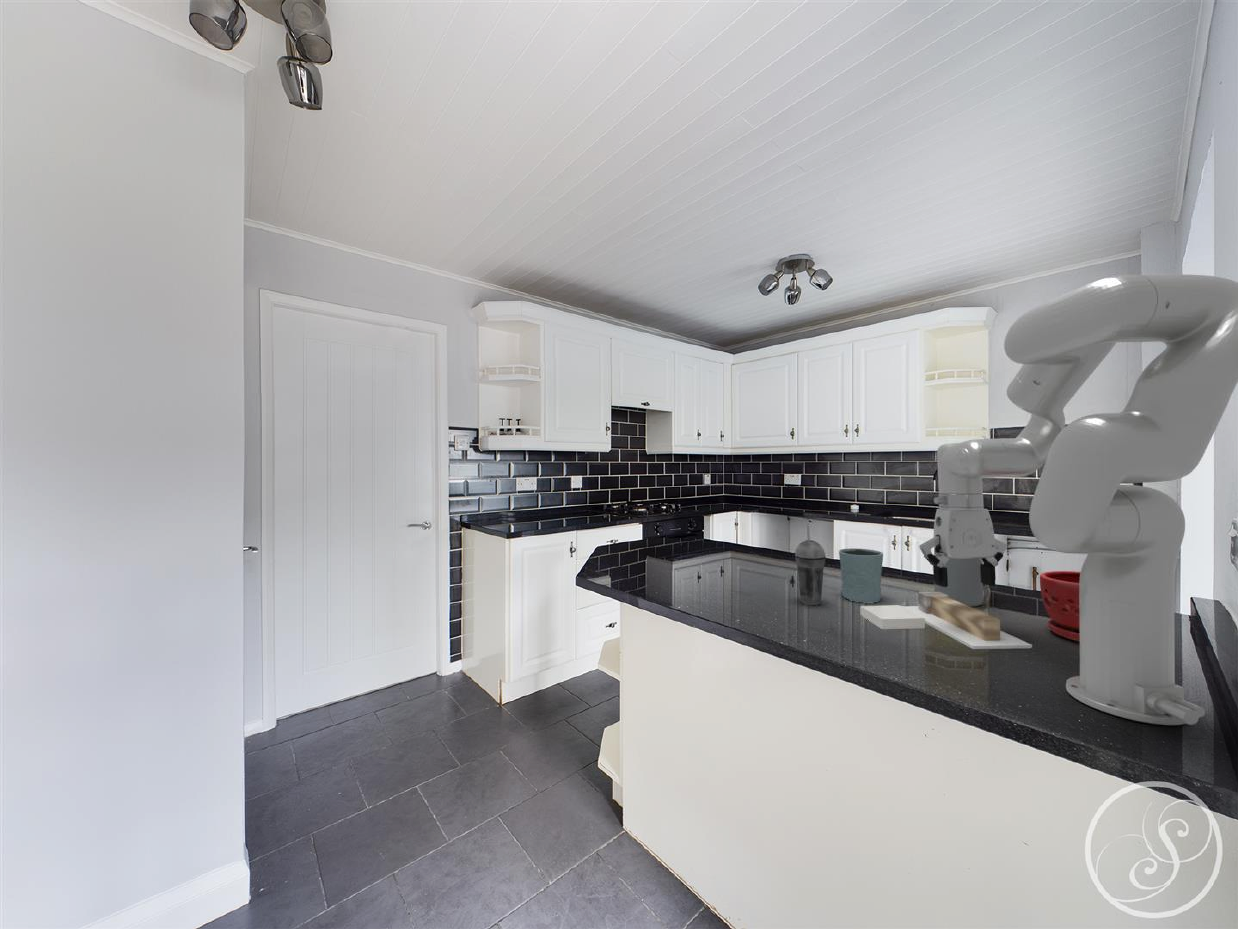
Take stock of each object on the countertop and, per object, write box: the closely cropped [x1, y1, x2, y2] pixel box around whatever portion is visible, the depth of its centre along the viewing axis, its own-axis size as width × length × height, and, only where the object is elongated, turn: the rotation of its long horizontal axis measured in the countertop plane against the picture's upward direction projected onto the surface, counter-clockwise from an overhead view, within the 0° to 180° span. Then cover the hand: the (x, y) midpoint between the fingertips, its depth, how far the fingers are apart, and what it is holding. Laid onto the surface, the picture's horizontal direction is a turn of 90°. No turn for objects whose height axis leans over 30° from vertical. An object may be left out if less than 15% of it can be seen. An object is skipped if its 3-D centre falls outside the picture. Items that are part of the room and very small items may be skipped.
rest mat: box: [901, 605, 1033, 650], centre depth 102 cm, size 24×11×1 cm, turn 0°
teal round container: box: [838, 547, 884, 602], centre depth 123 cm, size 10×10×12 cm
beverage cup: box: [794, 522, 827, 606], centre depth 120 cm, size 7×7×20 cm
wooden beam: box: [917, 591, 1001, 641], centre depth 102 cm, size 19×5×4 cm, turn 0°
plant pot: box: [1039, 570, 1081, 643], centre depth 95 cm, size 13×13×12 cm
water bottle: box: [933, 549, 984, 608], centre depth 119 cm, size 10×10×28 cm
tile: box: [859, 604, 926, 630], centre depth 106 cm, size 3×9×9 cm
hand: (964, 585), depth 100 cm, fingers open, 9 cm apart
